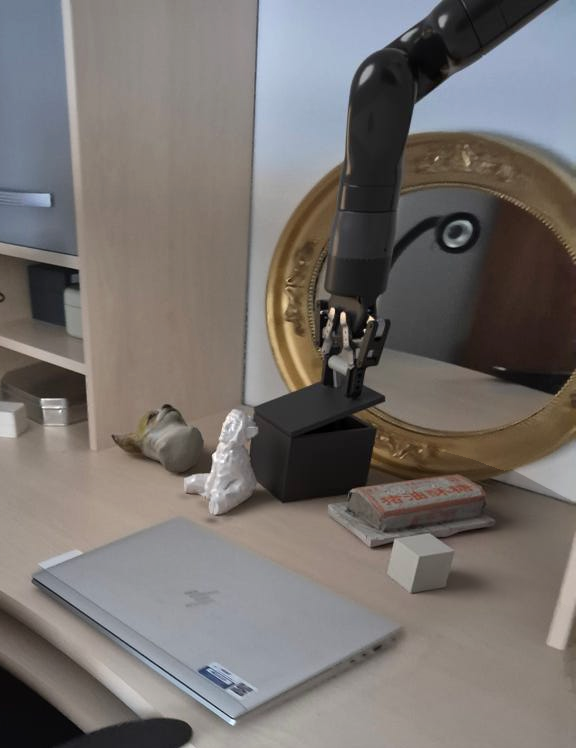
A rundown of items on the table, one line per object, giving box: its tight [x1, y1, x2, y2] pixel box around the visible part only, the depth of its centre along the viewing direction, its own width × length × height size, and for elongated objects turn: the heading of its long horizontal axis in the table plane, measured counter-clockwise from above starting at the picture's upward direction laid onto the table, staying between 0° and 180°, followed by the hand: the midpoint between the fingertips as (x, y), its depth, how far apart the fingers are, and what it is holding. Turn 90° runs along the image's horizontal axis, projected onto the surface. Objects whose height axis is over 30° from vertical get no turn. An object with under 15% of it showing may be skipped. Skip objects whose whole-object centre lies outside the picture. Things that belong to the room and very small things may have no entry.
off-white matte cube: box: [386, 533, 456, 594], centre depth 92 cm, size 4×4×4 cm
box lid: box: [253, 354, 386, 438], centre depth 109 cm, size 13×11×5 cm
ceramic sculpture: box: [110, 403, 205, 473], centre depth 121 cm, size 11×9×15 cm
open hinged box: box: [248, 412, 378, 504], centre depth 114 cm, size 13×11×9 cm
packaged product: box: [327, 473, 496, 548], centre depth 104 cm, size 18×5×10 cm
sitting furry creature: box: [183, 408, 258, 516], centre depth 109 cm, size 10×9×12 cm
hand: (340, 390), depth 110 cm, fingers closed on box lid, 5 cm apart
